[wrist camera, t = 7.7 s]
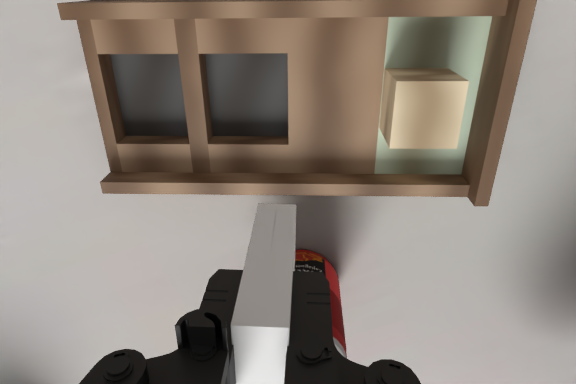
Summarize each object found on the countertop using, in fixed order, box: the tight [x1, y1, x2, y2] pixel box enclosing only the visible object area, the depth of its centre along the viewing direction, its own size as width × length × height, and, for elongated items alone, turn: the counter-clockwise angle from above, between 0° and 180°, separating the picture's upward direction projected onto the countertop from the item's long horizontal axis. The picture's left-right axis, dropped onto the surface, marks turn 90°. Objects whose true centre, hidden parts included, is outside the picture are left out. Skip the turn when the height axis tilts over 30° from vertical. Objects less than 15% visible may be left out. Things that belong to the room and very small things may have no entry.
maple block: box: [379, 68, 469, 149], centre depth 29 cm, size 4×4×4 cm
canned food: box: [295, 249, 347, 358], centre depth 37 cm, size 8×8×11 cm
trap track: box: [57, 0, 537, 206], centre depth 31 cm, size 30×14×6 cm, turn 91°
